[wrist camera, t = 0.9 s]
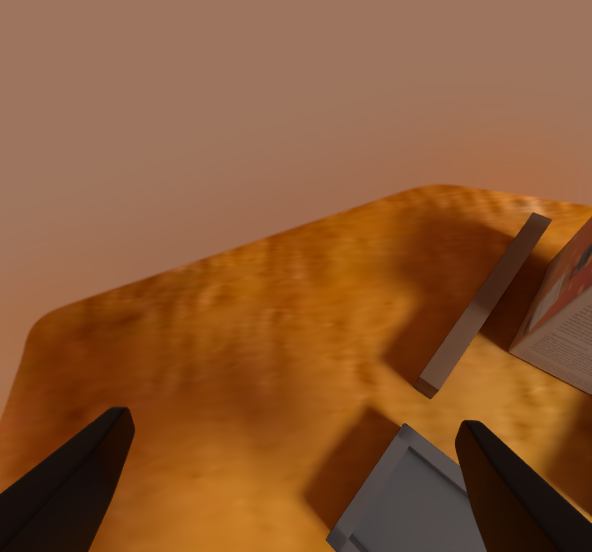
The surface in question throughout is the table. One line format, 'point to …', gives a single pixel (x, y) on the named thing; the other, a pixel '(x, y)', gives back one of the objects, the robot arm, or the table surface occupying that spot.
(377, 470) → the tray
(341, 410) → the table surface
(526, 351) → the small box
